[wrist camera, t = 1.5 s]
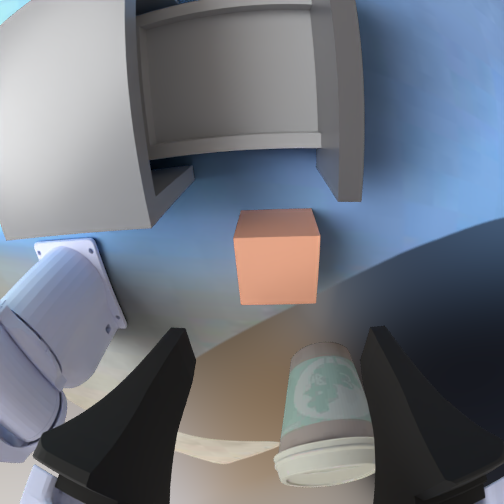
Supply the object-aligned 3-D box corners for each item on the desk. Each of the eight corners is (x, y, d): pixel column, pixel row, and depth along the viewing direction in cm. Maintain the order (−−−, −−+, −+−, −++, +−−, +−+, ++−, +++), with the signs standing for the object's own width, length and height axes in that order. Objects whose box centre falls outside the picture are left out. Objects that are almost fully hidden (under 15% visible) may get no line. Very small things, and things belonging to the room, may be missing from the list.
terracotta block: (309, 267, 20) (315, 303, 16) (246, 268, 20) (241, 304, 17) (311, 207, 18) (320, 235, 14) (241, 209, 18) (233, 238, 15)
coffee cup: (380, 341, 23) (411, 456, 13) (333, 389, 27) (343, 487, 17) (300, 320, 22) (309, 461, 12) (262, 375, 26) (255, 485, 16)
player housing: (194, 180, 17) (151, 228, 11) (66, 197, 18) (6, 240, 12) (178, -8, 11) (127, -53, 4) (46, 45, 12) (-22, 46, 6)
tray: (332, 167, 16) (361, 201, 11) (155, 177, 17) (109, 213, 12) (320, -15, 10) (342, -61, 5) (139, 7, 11) (87, -20, 6)
